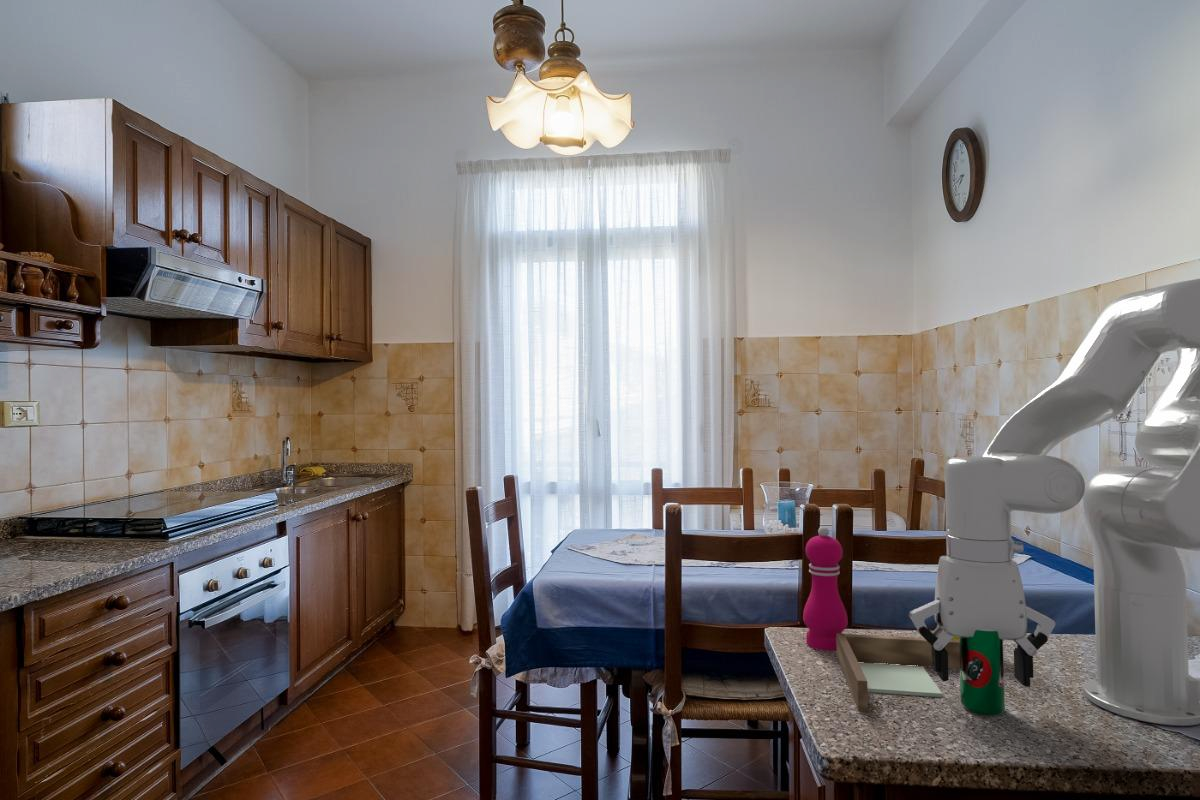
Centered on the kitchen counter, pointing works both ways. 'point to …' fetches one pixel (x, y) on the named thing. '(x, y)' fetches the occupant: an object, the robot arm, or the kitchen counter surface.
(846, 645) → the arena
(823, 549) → the pepper mill
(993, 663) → the soda can
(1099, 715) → the kitchen counter surface
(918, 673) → the pad
